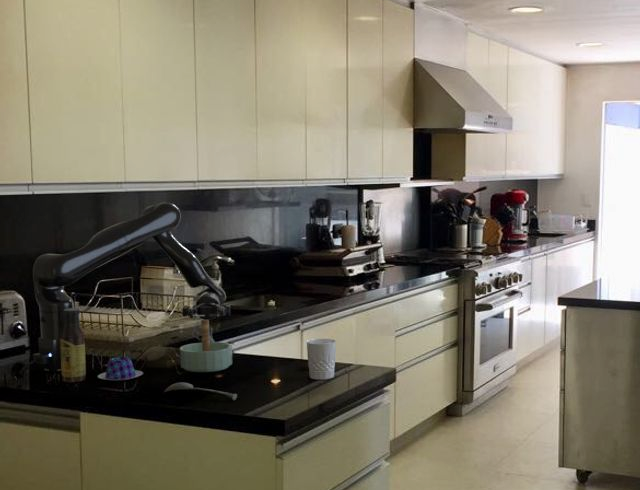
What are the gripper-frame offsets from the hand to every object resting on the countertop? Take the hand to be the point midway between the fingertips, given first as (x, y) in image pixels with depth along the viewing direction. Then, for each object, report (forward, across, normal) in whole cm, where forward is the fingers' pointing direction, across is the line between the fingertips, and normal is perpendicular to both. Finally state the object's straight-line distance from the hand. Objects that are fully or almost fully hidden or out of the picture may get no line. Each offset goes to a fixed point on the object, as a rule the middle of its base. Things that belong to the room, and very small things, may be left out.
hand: (206, 314), depth 277 cm
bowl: (+11, 0, +14) cm, 18 cm away
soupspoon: (+45, 0, +14) cm, 47 cm away
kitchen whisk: (-22, 0, +14) cm, 26 cm away
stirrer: (+11, 0, +13) cm, 17 cm away
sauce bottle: (+20, -35, +14) cm, 43 cm away
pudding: (+18, -23, +14) cm, 33 cm away
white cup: (+31, +32, +14) cm, 46 cm away
